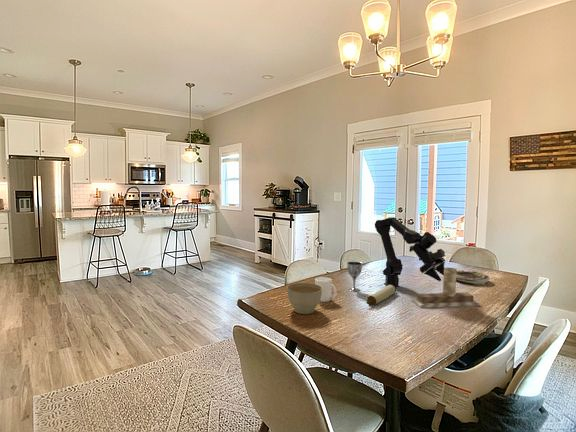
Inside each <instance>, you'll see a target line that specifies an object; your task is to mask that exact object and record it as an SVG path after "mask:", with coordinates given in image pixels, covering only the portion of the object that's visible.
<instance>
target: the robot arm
mask: <svg viewBox="0 0 576 432" xmlns="http://www.w3.org/2000/svg"><path fill="white" fill-rule="evenodd" d="M374 228H375V230H376V232H377V233H378V234H379V235H380V238H381V242H382V245H383V248H384V253H385V256H386V263H385V268H384V269H383V270H382V274H383V276H385V282H384V283H383V284H384V285H385V287H386V286H388V285H394V286H395V287H399V288H400V285H399V282H400V278H399V276H401V273H402V271H403V266H404V265H403V264H402V260H401V258H397V256H396V252H395V249H394V245H393V242H392V238H391V236H390V231H391V228H393V229H394V230H395V231H396V232H397V233H399V234H400V235H401V236H402V239H403V240H404V241H405V243H406V244H408V245H410V246H409V253H411V252H414V253H415V254H416V256H417V257H418V260H419V261H421V262H422V263H423V265H422V266H420V267H419V271H420V273H421V274H424V275H426V276H428V277H431V278H432V279H434V280H435V281H438V282H441V281H442V278H441V277H440V275H442V276H443V277H444V268H446V267H445V263H446V259H445V258H444V257H446V255H445V254H446V251H444V249H442V248H439V249H437V250H436V251H435V252H433V251H432V250H431V251H429V250H428V249H430V248H431V247H432V246H434V245H435V244H436V243H437V238H436V236H434V235H433V234H431V233H430V232H429V231H426V232H424V234H422V235H421V234H420V233H419V232H417V231H415V230H412V229H409V228H408V227H407V226H405V224H403V223H402V222H400V221H399V219H398V220H397V218H396V217H394V216H393V217H391V216H390V217H386V218H384V219H377V220H376V221H375V223H374ZM439 274H440V275H439Z"/></svg>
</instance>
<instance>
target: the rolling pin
mask: <svg viewBox="0 0 576 432" xmlns="http://www.w3.org/2000/svg"><path fill="white" fill-rule="evenodd" d="M395 293H397V288H396V287H395V286H394V285H388V286H386V285H385V287H383V288H382V289H380V290H378V291H376V292H375V293H372V294H369V295H368V296H367V298H366V304H367V305H368V306H371V307H375V306H376V305H377V304H379V303H381V302H383V301H384V300H386V299H387V298H389V297H390V296H391V295H394V294H395Z"/></svg>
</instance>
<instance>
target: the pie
mask: <svg viewBox="0 0 576 432" xmlns="http://www.w3.org/2000/svg"><path fill="white" fill-rule="evenodd" d="M489 281H490V277H489V275H488V274H487V275H486V274H483V273H482V272H478V271H473V270H472V271H471V270H469V271H468V270H467V271H466V270H461V269H460V270H457V274H456V283H457V282H458V283H462V284H468V285H471V284H472V285H471V286H484V285H485V284H486V283H487V282H489Z"/></svg>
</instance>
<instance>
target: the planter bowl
mask: <svg viewBox="0 0 576 432" xmlns="http://www.w3.org/2000/svg"><path fill="white" fill-rule="evenodd" d="M286 291H287V298H288V301H289V303H290V304H291V307H292V308H293V312H295V313H297V314H303V315H308V314H312V313H314V312H315V309H316V308H317V307H318V305H319V304H320V299H321V295H322V287H321V286H319V285H316V284H315V283H312V282H311V283H310V282H295V283H291V284H289V285H287V287H286Z"/></svg>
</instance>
